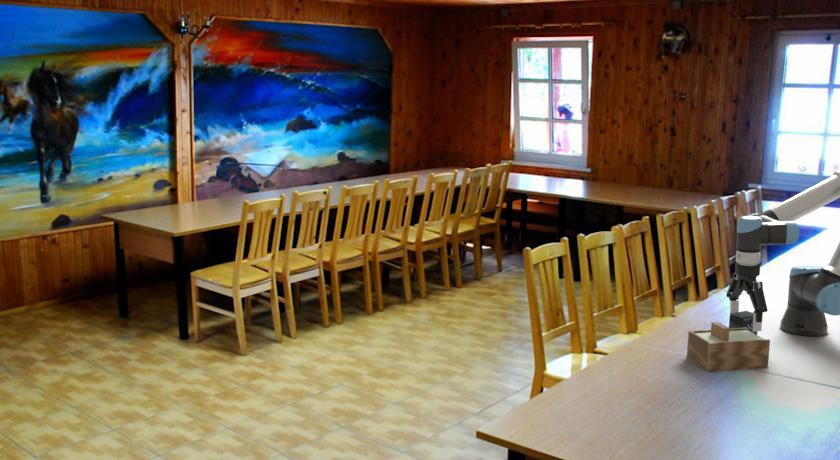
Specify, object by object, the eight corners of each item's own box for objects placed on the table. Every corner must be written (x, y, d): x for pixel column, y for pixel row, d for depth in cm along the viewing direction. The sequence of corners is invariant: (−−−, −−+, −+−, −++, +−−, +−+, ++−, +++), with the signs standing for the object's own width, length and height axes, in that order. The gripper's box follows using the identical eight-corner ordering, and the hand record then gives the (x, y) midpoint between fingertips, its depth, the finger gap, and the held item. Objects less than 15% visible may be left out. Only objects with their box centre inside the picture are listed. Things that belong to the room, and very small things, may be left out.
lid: (747, 332, 259) (748, 317, 258) (766, 343, 249) (768, 328, 248) (692, 336, 256) (693, 321, 255) (710, 347, 246) (711, 331, 245)
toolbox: (744, 354, 262) (746, 327, 260) (767, 368, 249) (770, 340, 248) (686, 357, 258) (688, 330, 257) (707, 372, 246) (709, 343, 244)
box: (740, 348, 268) (742, 317, 266) (727, 343, 273) (729, 313, 271) (757, 344, 271) (759, 314, 269) (743, 339, 276) (745, 310, 274)
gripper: (717, 256, 278) (715, 315, 282) (759, 272, 254) (756, 337, 258) (737, 254, 279) (734, 313, 283) (781, 270, 255) (777, 335, 259)
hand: (745, 325), depth 271 cm, fingers open, 13 cm apart
